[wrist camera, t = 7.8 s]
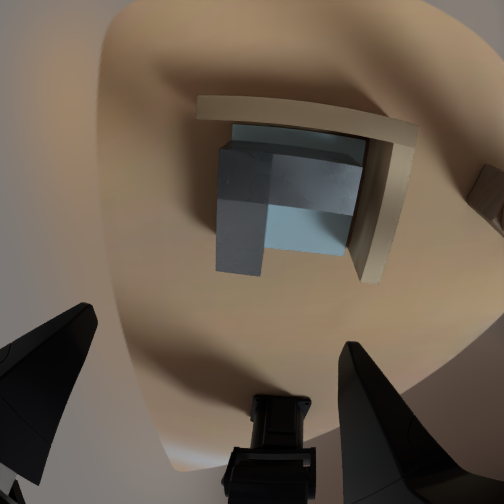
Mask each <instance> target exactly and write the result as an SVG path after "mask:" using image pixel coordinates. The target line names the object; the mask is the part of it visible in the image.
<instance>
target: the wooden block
mask: <svg viewBox="0 0 504 504" xmlns="http://www.w3.org/2000/svg"><path fill="white" fill-rule="evenodd" d="M467 203H468V205H469V206H470V207H471V208H472V209H474V210H475V211H476V212H477V213H478V214H479V215H480V216H482V217H483V218H484V219H485V220H486V221H487V222H488V223H489V224H490V225H491V226H492V227H493V228H494V229H495V230H496V231H497V232H498V233H500V234H501V235H502V236H503V237H504V172H503V171H501V170H499V169H497V168H495V167H493V166H491V165H489V164H486V165H485V166H484V168H483V170H482V172H481V174H480V176H479V178H478V180H477V182H476V184H475V186H474V187H473V189H472V191H471V193H470V195H469V196H468V198H467Z"/></svg>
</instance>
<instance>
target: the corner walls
mask: <svg viewBox="0 0 504 504" xmlns="http://www.w3.org/2000/svg"><path fill="white" fill-rule="evenodd" d="M196 120H231V121H249V122H263V123H275V124H285V125H294V126H302V127H310V128H317V129H324V130H330V131H337V132H342V133H348V134H354V135H359V136H364V137H369V138H370V143H369V149H368V155H367V161H366V167H365V173H364V178H363V184H362V189H361V194H360V199H359V204H358V209H357V213H356V218H355V222H354V227H353V231H352V235H351V240H350V244H349V248H348V250H349V252H350V255H351V258H352V260H353V263H354V266H355V269H356V272H357V275H358V278H359V280H360V282H361V283H372V284H379V282H380V279H381V276H382V273H383V270H384V267H385V264H386V261H387V258H388V255H389V252H390V248H391V245H392V242H393V238H394V235H395V232H396V228H397V225H398V221H399V217H400V213H401V210H402V206H403V202H404V198H405V193H406V189H407V185H408V180H409V176H410V171H411V166H412V161H413V156H414V150H415V145H416V139H417V132H418V126H419V125H416V124H412V123H409V122H405V121H401V120H398V119H394V118H390V117H386V116H382V115H377V114H373V113H369V112H364V111H359V110H354V109H349V108H344V107H338V106H332V105H326V104H319V103H313V102H305V101H297V100H288V99H278V98H266V97H251V96H225V95H197V113H196Z"/></svg>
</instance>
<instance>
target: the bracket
mask: <svg viewBox="0 0 504 504" xmlns="http://www.w3.org/2000/svg"><path fill="white" fill-rule="evenodd" d="M362 168H363V167H362V166H361V165H359V164H358V163H357V162H356V161H355V160H354V159H353V158H351V157H350V156H349V155H348V154H342V153H337V152H331V151H325V150H318V149H312V148H305V147H297V146H289V145H281V144H272V143H263V142H252V141H240V140H231V141H230V142H228V143H227V144H226V145H224V146H223V147H222V148H220V149H219V167H218V192H217V224H216V271H220V272H228V273H236V274H244V275H252V276H260V274H261V268H262V261H263V254H264V247H265V238H266V229H267V220H268V211H269V204H270V205H278V206H286V207H294V208H302V209H310V210H317V211H324V212H331V213H338V214H345V215H351V216H353V212H354V208H355V203H356V198H357V194H358V189H359V184H360V179H361V174H362Z"/></svg>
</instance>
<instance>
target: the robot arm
mask: <svg viewBox="0 0 504 504" xmlns="http://www.w3.org/2000/svg"><path fill="white" fill-rule="evenodd" d="M97 325H98V320H97V317H96V314H95V311H94V309H93V306H92V305H91V304H88V303H84V302H83V303H80V304H78V305H76V306H74V307H72V308H71V309H69V310H67V311H65V312H63V313H62V314H60V315H58V316H56V317H54V318H53V319H51V320H49V321H47V322H46V323H44V324H42V325H40V326H39V327H37V328H35V329H34V330H32V331H30V332H28V333H27V334H25V335H23V336H21V337H20V338H18V339H16V340H15V341H13V342H12V343H9V344H8V345H6V346H5V347H3V348H1V349H0V504H26V503H25V501H24V498H23V495H22V493H21V490H20V487H19V484H18V481H17V480H16V479H15V477H16V475H17V474H18V475H20V476H22V477H23V478H25V479H27V480H29V481H30V482H32V483H34V484H36V485H37V486H39V484H40V481H41V478H42V474H43V471H44V467H45V464H46V460H47V457H48V454H49V451H50V448H51V444H52V442H53V439H54V436H55V433H56V430H57V427H58V425H59V422H60V419H61V417H62V414H63V411H64V409H65V406H66V404H67V401H68V399H69V396H70V394H71V392H72V389H73V387H74V384H75V382H76V380H77V377H78V375H79V373H80V371H81V368H82V366H83V364H84V362H85V359H86V356H87V354H88V351H89V348H90V345H91V342H92V339H93V337H94V334H95V331H96V328H97ZM310 406H311V399H303V398H288V397H275V396H265V395H254V397H253V404H252V411H251V418H250V421H252V422H254V423H253V431H252V439H251V446H250V448H240V447H234V449H233V452H232V453H231V456H230V459H229V463H228V466H227V469H226V472H225V474H224V476H223V478H222V481H221V484H222V485H223V486H224V491H225V495H226V497H228V504H307V500H315V493H316V447H311V448H303V421H304V418H305V416H306V414H307V412H308V410H309V408H310ZM338 411H339V422H340V435H341V450H342V468H343V495H344V504H504V481H500V480H496V479H492V478H487V477H484V476H480V475H476V474H473V473H470V472H468V471H466V470H464V469H462V468H461V467H460V466H459V465H458V464H457V463H456V462H455V461H454V460H453V459H452V458H451V457H450V456H449V455H448V453H447V452H446V451H445V450H444V449H443V448H442V447H441V446H440V445H439V444H438V443H437V442H436V440H435V439H434V438H433V437H432V436H431V435H430V434H429V433H428V431H427V430H426V429H425V427H424V426H423V425H422V424H421V422H420V421H419V420H418V418H417V417H416V416H415V415H414V413H413V412H412V410H411V409H410V408H409V406H408V405H407V404H406V402H405V401H404V400H403V399H402V397H401V396H400V395H399V393H398V392H397V391H396V389H395V388H394V387H393V385H392V384H391V383H390V382H389V380H388V379H387V378H386V376H385V375H384V374H383V373H382V371H381V370H380V369H379V367H378V366H377V365H376V364H375V362H374V361H373V360H372V358H371V357H370V356H369V355H368V353H367V352H366V351H365V350H364V348H363V347H362V346H361V344H360V343H359V342H355V341H347V342H346V343H345V345H344V347H343V350H342V352H341V354H340V357H339V361H338ZM303 465H310V466H309V467H303Z"/></svg>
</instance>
